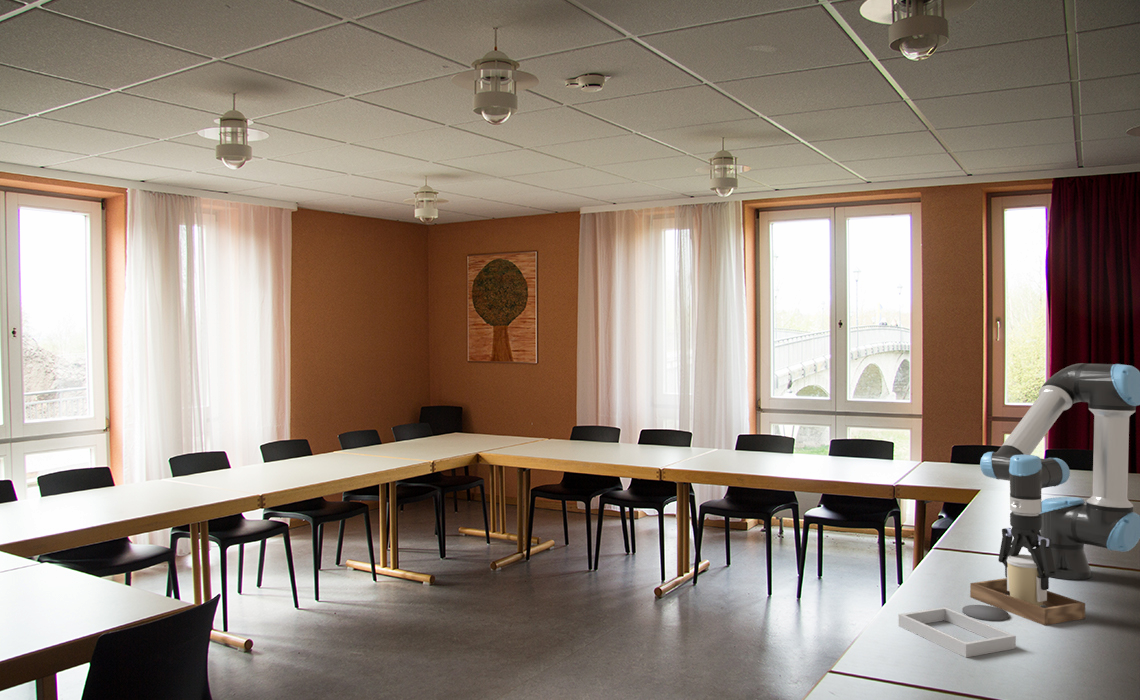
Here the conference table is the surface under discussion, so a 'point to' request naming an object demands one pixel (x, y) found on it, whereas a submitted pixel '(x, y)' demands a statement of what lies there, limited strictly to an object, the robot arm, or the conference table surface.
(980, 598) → the frame
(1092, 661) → the conference table surface
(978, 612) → the coaster
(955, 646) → the gray rectangular frame
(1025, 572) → the coffee cup
